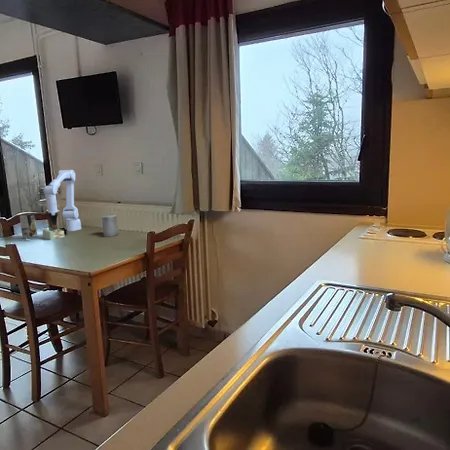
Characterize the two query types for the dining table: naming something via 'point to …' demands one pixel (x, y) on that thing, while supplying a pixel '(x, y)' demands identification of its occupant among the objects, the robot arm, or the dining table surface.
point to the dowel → (54, 226)
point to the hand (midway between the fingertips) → (54, 224)
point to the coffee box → (28, 225)
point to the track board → (48, 234)
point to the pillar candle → (110, 225)
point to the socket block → (58, 234)
